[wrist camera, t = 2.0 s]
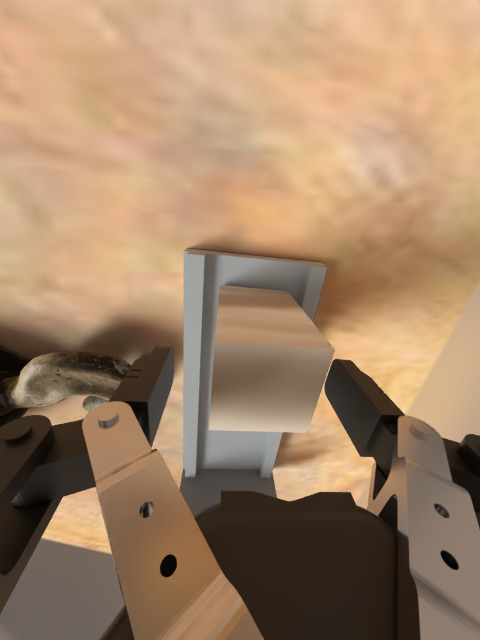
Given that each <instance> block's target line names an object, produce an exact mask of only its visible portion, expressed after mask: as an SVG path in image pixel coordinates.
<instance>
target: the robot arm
mask: <svg viewBox="0 0 480 640" xmlns="http://www.w3.org/2000/svg"><path fill="white" fill-rule="evenodd" d="M173 375H174V350H173V347H171V346H156V347H155V349H154V350H153V352H152V354H151V356H147V355H143V356H141V357H140V358H139V359H137V360H136V361H134V363H133V364H132V366H131V367H130V369H129V371H128V372H127V374H126V375H125V377H124V378H123V380H122V381H121V383H120V384H119V386H118V387H117V389H116V390H115V392H114V393H113V395H112V397H111V398H110V400H109V401H108V403H104V404H102V405H99V406H97V407H96V408H94V409H93V410H91V411H90V412H89V413H88V414H87V415H86V416H85V418H84V419H82V420H78V421H74V422H69V423H64V424H59V425H54V426H52V425H51V422H50V420H49V419H48V418H47V417H45V416H42V415H31V416H25V417H21V418H19V419H16V420H13V421H11V422H9V423H7V424H5V425H3V426H2V427H0V614H1V612H2V610H3V608H4V606H5V604H6V602H7V601H8V599H9V597H10V595H11V593H12V591H13V589H14V587H15V586H16V584H17V582H18V580H19V578H20V576H21V574H22V572H23V570H24V569H25V567H26V565H27V563H28V561H29V559H30V557H31V555H32V554H33V552H34V550H35V548H36V546H37V544H38V542H39V541H40V539H41V537H42V535H43V533H44V531H45V529H46V527H47V526H48V524H49V522H50V520H51V518H52V516H53V514H54V512H55V511H56V509H57V507H58V505H59V503H60V501H61V499H62V498H63V497H64V496H67V495H70V494H74V493H77V492H80V491H83V490H87V489H90V488H93V487H96V489H97V494H98V498H99V502H100V506H101V510H102V514H103V518H104V522H105V527H106V531H107V535H108V539H109V543H110V547H111V552H112V556H113V560H114V564H115V568H116V573H117V576H118V580H119V585H120V589H121V593H122V597H123V601H124V606H123V608H122V609H121V610H120V612H119V613H118V615H117V616H116V617H115V619H114V620H113V621H112V623H111V624H110V625H109V627H108V628H107V630H106V631H105V632H104V634H103V635H102V636H101V638H100V639H99V640H480V436H478V435H474V434H468V435H466V436H465V437H464V439H463V440H462V441H461V443H458V442H455V441H451V440H448V439H444V438H442V437H441V436H440V435H439V433H438V432H437V431H436V430H435V429H434V428H432V427H431V426H430V425H428V424H427V423H425V422H423V421H421V420H420V419H417V418H415V417H411V416H405V415H404V413H403V412H402V411H401V410H400V409H399V408H398V407H397V406H396V405H395V404H394V402H393V401H392V400H391V399H390V398H389V397H388V396H387V395H386V394H385V393H384V392H383V390H382V389H381V388H380V387H378V385H377V384H376V383H375V382H374V381H373V379H372V378H371V377H369V376H368V375H366V374H365V373H363V372H362V371H360V370H359V368H358V367H357V366H356V365H355V364H354V363H353V362H352V361H351V360H341V359H335V360H334V361H333V362H332V365H331V368H330V370H329V373H328V376H327V379H326V382H325V394H326V396H327V398H328V400H329V402H330V403H331V405H332V407H333V409H334V411H335V412H336V414H337V416H338V418H339V419H340V421H341V423H342V425H343V426H344V428H345V430H346V432H347V434H348V435H349V437H350V439H351V441H352V442H353V444H354V446H355V448H356V449H357V451H358V453H359V455H360V457H373V458H374V459H375V462H374V464H373V466H372V472H371V481H370V489H369V490H370V491H369V498H368V506H367V510H366V509H364V508H362V507H359V506H357V505H356V503H355V501H354V499H353V497H352V495H351V492H319V493H316V494H313V495H310V496H307V497H304V498H301V499H298V500H295V501H285V500H281V499H278V498H275V497H272V496H268V495H265V494H262V493H258V492H255V491H221V493H220V501H219V503H217V504H214V505H211V506H209V507H207V508H205V509H203V510H202V511H200V512H199V513H197V514H196V515H195V516H193V515H192V513H191V511H190V509H189V507H188V505H187V503H186V502H185V500H184V498H183V496H182V494H181V492H180V490H179V488H178V486H177V484H176V482H175V480H174V479H173V477H172V475H171V473H170V471H169V469H168V467H167V465H166V463H165V461H164V459H163V457H162V456H161V454H160V452H159V451H158V450H157V449H154V450H152V449H151V447H152V444H153V441H154V438H155V435H156V432H157V429H158V426H159V423H160V420H161V417H162V414H163V411H164V408H165V405H166V402H167V399H168V396H169V393H170V390H171V387H172V383H173Z"/></svg>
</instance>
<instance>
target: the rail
mask: <svg viewBox="0 0 480 640" xmlns="http://www.w3.org/2000/svg"><path fill="white" fill-rule="evenodd" d="M327 269H328V268H327V266H326V265H324V264H322V263H320V262H313V261H303V260H293V259H284V258H274V257H264V256H255V255H245V254H235V253H226V252H216V251H206V250H197V249H186V250H185V251H184V379H183V474H182V479H181V485H180V492H181V494H182V496H183V498H184V500H185V502H186V503H187V505H188V507H189V509H190V511H191V513H192V515H193V516H195V515H196V514H197V513H199V512H200V511H202V510H203V509H205V508H207V507H209V506H211V505H214V504H217V503H219V501H220V493H221V491H255V492H258V493H262V494H265V495H268V496H272V497H275V498H277V496H276V490H275V484H274V479H273V473H272V471H273V467H274V463H275V460H276V456H277V452H278V449H279V445H280V441H281V438H282V434H283V432H260V431H224V430H209V416H210V402H211V388H212V373H213V359H214V345H215V333H216V323H217V312H218V301H219V290H220V285H225V286H236V287H247V288H258V289H269V290H281V291H288V292H289V293H290V295H291V296H292V297H293V298H294V300H295V301H296V302H297V303H298V305H299V306H300V307H301V308H302V310H303V311H304V312H305V313H306V315H307V316H308V317H309V318H310V320H311V321H312V322H313V320H314V317H315V313H316V309H317V306H318V302H319V298H320V295H321V291H322V287H323V284H324V280H325V276H326V273H327Z"/></svg>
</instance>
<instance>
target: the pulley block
mask: <svg viewBox="0 0 480 640" xmlns="http://www.w3.org/2000/svg"><path fill="white" fill-rule="evenodd" d="M131 366H132V365H130V364H128V363H127V362H126V361H124V360H122V359H119V358H115V357H109V356H105V355H100V354H96V353H90V352H53V353H49V354H44V355H41V356H38V357H36V358H34V359H32V360H31V361H30V362H29V361H28V360H26V359H24V358H23V357H21V356H19V355H17V354H15V353H12V352H10V351H8V350H5V349H3V348H1V347H0V427H2V426H3V425H5V424H7V423H9V422H11V421H13V420H16V419H19V418H21V417H22V416H23V415H24V414H25V412H26V411H27V409H28V408H29V407H39V406H47V405H52V404H55V403H57V402H59V401H62V400H64V399H66V398H68V397H69V396H72V395H84V396H88V397H87V398H86V399H85V400H84V401H83V408H84V409H85V410H87V411H88V412H90V411H91V410H93V409H94V408H96V407H97V406H99V405H102V404H104V403H108V401H109V400H110V398H111V397H112V395H113V393H114V392H115V390H116V389H117V387H118V386H119V384H120V383H121V381H122V380H123V378H124V377H125V375H126V374H127V372H128V371H129V369H130V367H131Z"/></svg>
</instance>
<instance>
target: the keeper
mask: <svg viewBox="0 0 480 640" xmlns="http://www.w3.org/2000/svg"><path fill="white" fill-rule="evenodd" d="M334 351H335V349H334V348H333V347H332V346H331V345H330V343H329V342H328V341H327V340H326V338H325V337H324V336H323V335H322V333H321V332H320V331H319V330H318V328H317V327H316V326H315V325H314V323H313V322H312V321H311V320H310V318H309V317H308V316H307V315H306V313H305V312H304V311H303V310H302V308H301V307H300V306H299V305H298V303H297V302H296V301H295V300H294V298H293V297H292V296H291V295H290V293H289V292H288V291H281V290H269V289H258V288H247V287H236V286H225V285H220V290H219V301H218V312H217V323H216V333H215V345H214V359H213V373H212V388H211V402H210V416H209V430H224V431H260V432H297V433H307V431H308V428H309V425H310V422H311V419H312V416H313V413H314V410H315V408H316V405H317V402H318V399H319V396H320V393H321V390H322V387H323V384H324V381H325V378H326V375H327V372H328V369H329V366H330V363H331V360H332V357H333V354H334Z"/></svg>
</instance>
